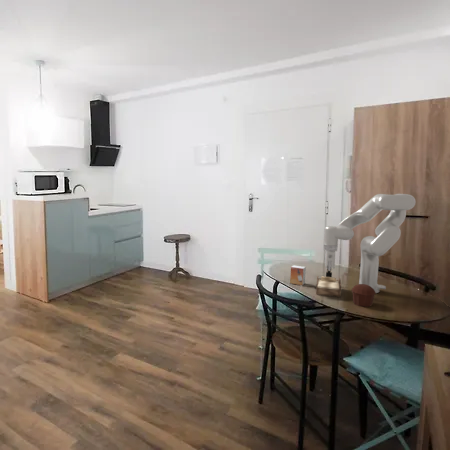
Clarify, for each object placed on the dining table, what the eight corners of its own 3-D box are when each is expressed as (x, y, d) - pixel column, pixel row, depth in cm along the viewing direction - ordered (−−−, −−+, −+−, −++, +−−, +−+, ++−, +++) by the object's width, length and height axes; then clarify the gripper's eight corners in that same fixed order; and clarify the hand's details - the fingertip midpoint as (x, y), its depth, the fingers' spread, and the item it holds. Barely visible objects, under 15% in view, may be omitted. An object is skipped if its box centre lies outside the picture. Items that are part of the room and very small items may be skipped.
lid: (338, 282, 199) (338, 277, 198) (339, 289, 186) (339, 284, 185) (318, 280, 202) (318, 275, 202) (317, 287, 189) (317, 282, 188)
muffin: (346, 303, 180) (347, 284, 178) (356, 298, 187) (357, 280, 186) (369, 309, 171) (371, 289, 170) (378, 304, 179) (380, 285, 178)
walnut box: (339, 288, 204) (340, 278, 203) (340, 297, 189) (341, 286, 188) (316, 286, 208) (317, 276, 207) (316, 294, 192) (316, 283, 192)
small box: (289, 283, 212) (290, 266, 211) (292, 281, 217) (293, 264, 216) (302, 285, 208) (303, 268, 207) (305, 283, 213) (306, 266, 212)
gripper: (337, 250, 190) (335, 283, 193) (337, 246, 204) (335, 276, 207) (323, 249, 192) (321, 281, 195) (323, 245, 207) (322, 275, 209)
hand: (328, 278), depth 201 cm, fingers closed
